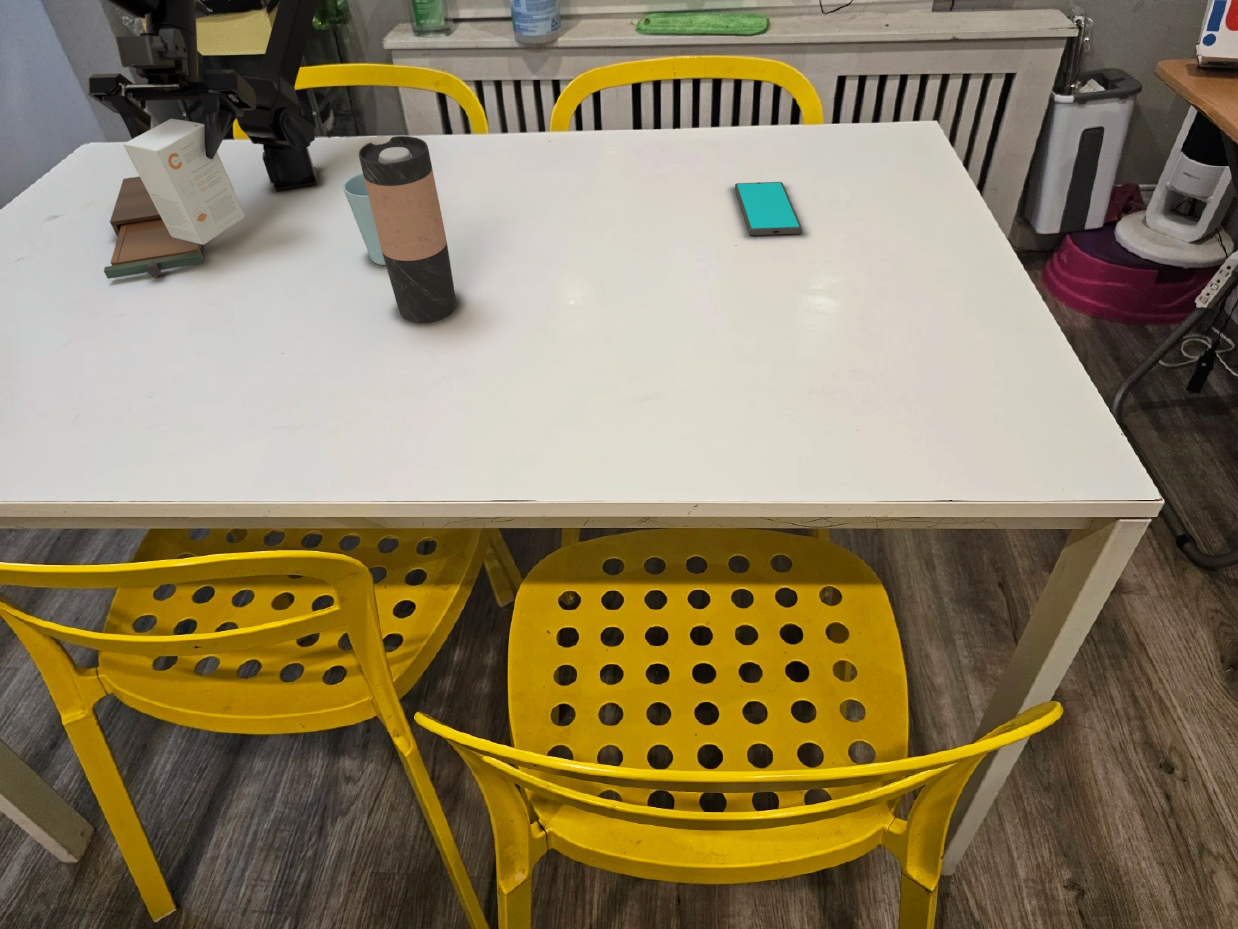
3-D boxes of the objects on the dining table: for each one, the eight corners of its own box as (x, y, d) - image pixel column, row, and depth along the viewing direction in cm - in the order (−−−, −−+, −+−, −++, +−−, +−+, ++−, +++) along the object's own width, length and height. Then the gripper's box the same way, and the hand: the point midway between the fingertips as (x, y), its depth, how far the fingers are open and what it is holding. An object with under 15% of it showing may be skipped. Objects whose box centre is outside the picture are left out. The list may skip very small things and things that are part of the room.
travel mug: (445, 327, 96) (412, 165, 83) (387, 321, 98) (345, 161, 84) (466, 293, 102) (439, 137, 88) (411, 288, 103) (374, 133, 89)
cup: (415, 268, 107) (399, 194, 100) (358, 271, 107) (337, 197, 99) (422, 240, 112) (406, 168, 105) (368, 243, 112) (348, 171, 105)
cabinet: (215, 224, 117) (207, 206, 115) (118, 239, 115) (109, 221, 113) (219, 182, 128) (212, 165, 126) (131, 195, 125) (123, 178, 123)
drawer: (203, 268, 107) (199, 258, 106) (107, 284, 104) (101, 274, 103) (209, 218, 118) (205, 208, 116) (122, 231, 115) (117, 221, 114)
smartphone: (750, 229, 110) (734, 183, 121) (749, 235, 111) (734, 188, 122) (802, 228, 110) (782, 181, 121) (801, 233, 111) (782, 186, 122)
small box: (213, 209, 112) (171, 116, 103) (247, 217, 110) (206, 123, 101) (169, 237, 107) (120, 143, 98) (203, 246, 105) (157, 150, 96)
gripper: (53, 2, 93) (59, 136, 93) (212, -3, 93) (217, 130, 93) (114, 51, 104) (118, 170, 104) (255, 46, 104) (260, 165, 104)
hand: (176, 159), depth 101 cm, fingers closed on small box, 8 cm apart
